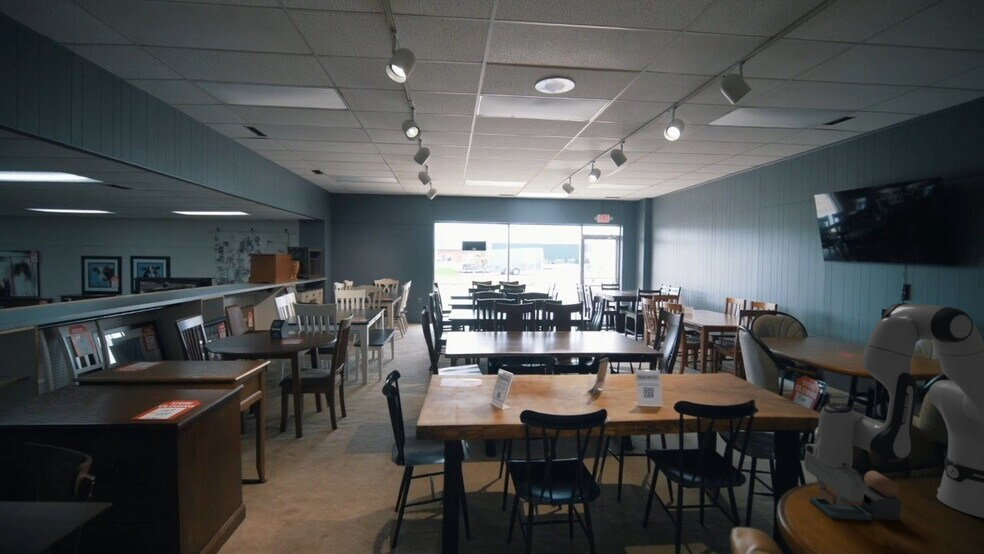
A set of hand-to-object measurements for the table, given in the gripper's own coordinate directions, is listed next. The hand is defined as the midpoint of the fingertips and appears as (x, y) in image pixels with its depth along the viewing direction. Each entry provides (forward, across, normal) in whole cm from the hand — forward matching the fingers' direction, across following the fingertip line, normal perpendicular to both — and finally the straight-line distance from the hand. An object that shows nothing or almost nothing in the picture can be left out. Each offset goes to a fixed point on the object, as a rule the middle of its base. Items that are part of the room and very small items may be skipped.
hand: (830, 499), depth 138 cm
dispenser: (+3, 0, -14) cm, 14 cm away
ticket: (0, 0, -3) cm, 3 cm away
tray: (+3, 0, -2) cm, 4 cm away
